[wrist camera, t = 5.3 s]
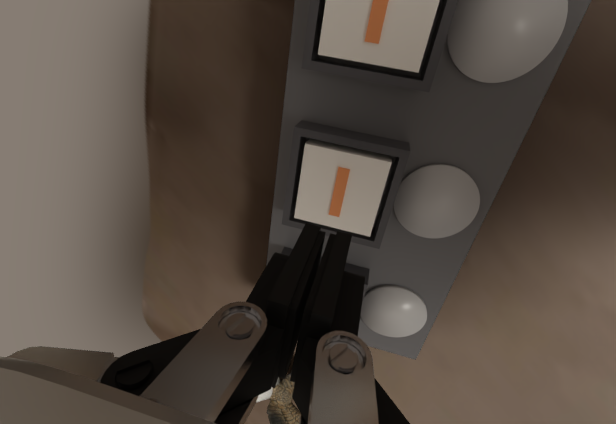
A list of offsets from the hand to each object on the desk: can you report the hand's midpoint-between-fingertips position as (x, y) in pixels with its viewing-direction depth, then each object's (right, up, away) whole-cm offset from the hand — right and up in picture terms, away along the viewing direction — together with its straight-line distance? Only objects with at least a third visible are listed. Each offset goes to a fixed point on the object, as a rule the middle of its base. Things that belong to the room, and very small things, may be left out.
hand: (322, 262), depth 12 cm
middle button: (+2, +4, +7) cm, 8 cm away
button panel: (+4, +4, +9) cm, 11 cm away
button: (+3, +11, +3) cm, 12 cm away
